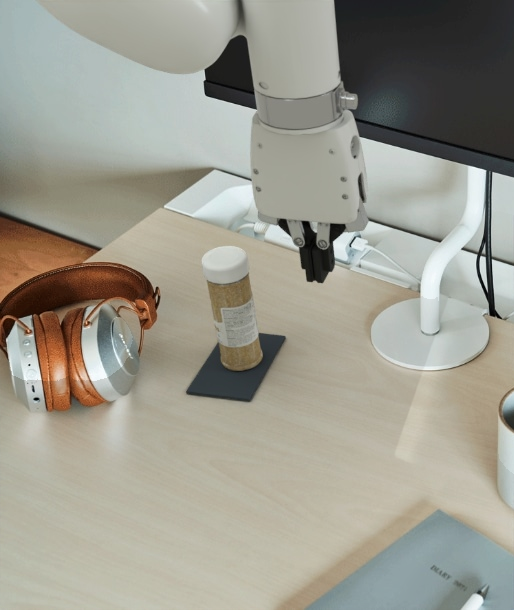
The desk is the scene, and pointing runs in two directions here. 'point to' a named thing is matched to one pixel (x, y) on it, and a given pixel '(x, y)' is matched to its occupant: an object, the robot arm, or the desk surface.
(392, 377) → the desk surface
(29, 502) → the desk surface
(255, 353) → the brown spice jar
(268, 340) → the mat
